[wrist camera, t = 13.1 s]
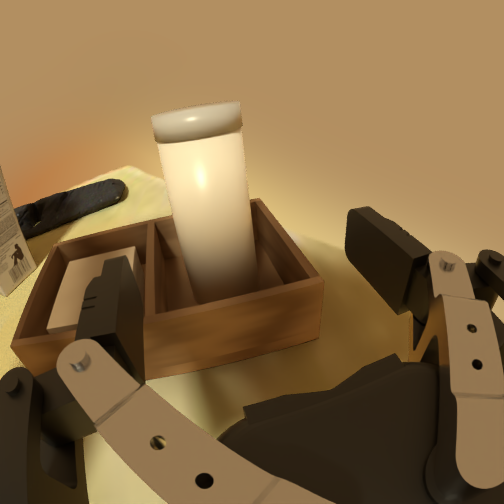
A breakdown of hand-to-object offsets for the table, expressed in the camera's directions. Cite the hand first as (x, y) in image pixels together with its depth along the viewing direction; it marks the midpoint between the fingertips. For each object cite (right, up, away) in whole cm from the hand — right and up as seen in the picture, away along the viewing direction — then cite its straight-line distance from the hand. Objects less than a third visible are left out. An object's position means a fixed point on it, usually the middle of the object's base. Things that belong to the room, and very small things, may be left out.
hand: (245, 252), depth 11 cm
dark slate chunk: (-31, +7, +35) cm, 47 cm away
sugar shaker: (-2, -3, +13) cm, 14 cm away
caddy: (-7, -5, +13) cm, 15 cm away
